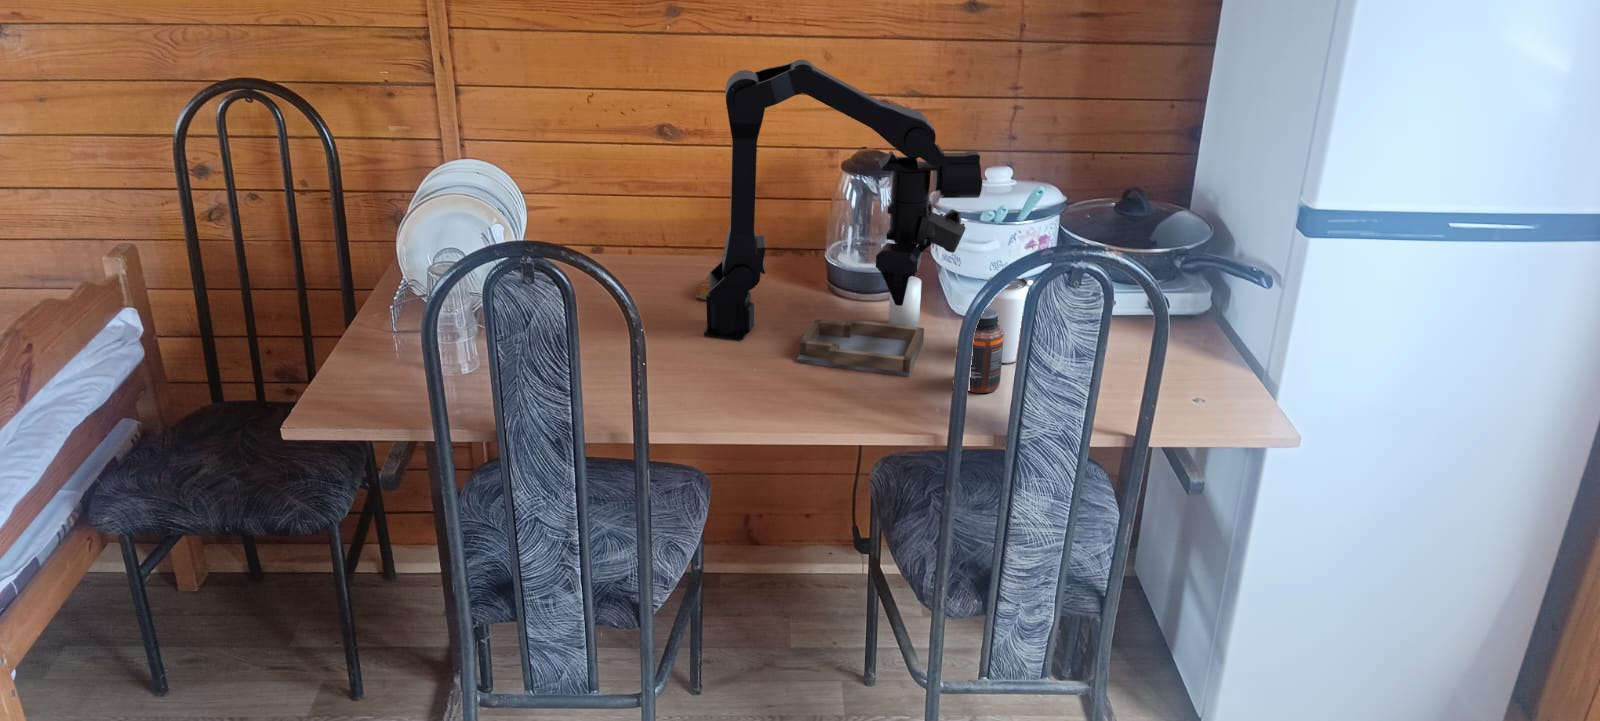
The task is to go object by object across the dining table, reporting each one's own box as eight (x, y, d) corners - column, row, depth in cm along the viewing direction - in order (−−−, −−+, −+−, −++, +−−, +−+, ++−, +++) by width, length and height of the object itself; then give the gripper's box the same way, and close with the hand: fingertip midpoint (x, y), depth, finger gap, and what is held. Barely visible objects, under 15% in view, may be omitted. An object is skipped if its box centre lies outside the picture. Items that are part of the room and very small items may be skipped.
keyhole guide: (796, 362, 170) (797, 346, 169) (817, 330, 180) (817, 315, 179) (909, 376, 166) (910, 360, 165) (923, 343, 177) (924, 328, 175)
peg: (885, 332, 180) (887, 284, 177) (891, 320, 185) (893, 273, 181) (915, 335, 179) (918, 288, 176) (921, 324, 183) (923, 277, 180)
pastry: (714, 307, 189) (713, 285, 188) (685, 297, 193) (684, 276, 192) (752, 291, 196) (751, 270, 194) (723, 281, 200) (722, 261, 198)
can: (1022, 366, 169) (1030, 291, 164) (977, 362, 171) (984, 287, 166) (1023, 349, 175) (1031, 275, 170) (980, 345, 176) (986, 271, 171)
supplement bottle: (1003, 380, 165) (1010, 307, 161) (995, 397, 160) (1002, 323, 156) (962, 373, 167) (967, 301, 162) (953, 391, 162) (958, 317, 157)
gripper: (954, 221, 163) (946, 323, 169) (971, 185, 179) (964, 279, 186) (877, 214, 165) (872, 314, 172) (901, 179, 182) (896, 271, 188)
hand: (904, 294), depth 179 cm, fingers open, 9 cm apart
